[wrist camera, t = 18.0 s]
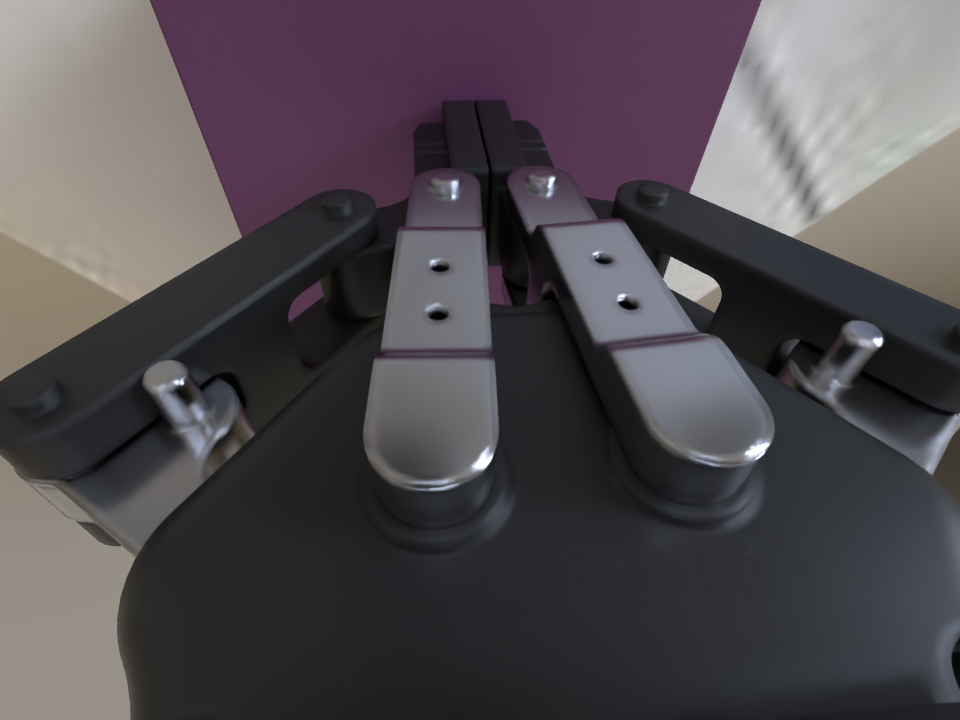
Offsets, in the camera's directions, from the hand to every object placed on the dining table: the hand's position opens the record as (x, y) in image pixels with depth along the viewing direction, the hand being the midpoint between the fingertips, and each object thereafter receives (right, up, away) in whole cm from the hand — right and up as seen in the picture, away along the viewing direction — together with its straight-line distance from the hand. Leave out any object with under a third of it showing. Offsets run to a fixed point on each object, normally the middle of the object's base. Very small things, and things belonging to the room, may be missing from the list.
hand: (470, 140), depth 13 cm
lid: (0, -2, +3) cm, 4 cm away
